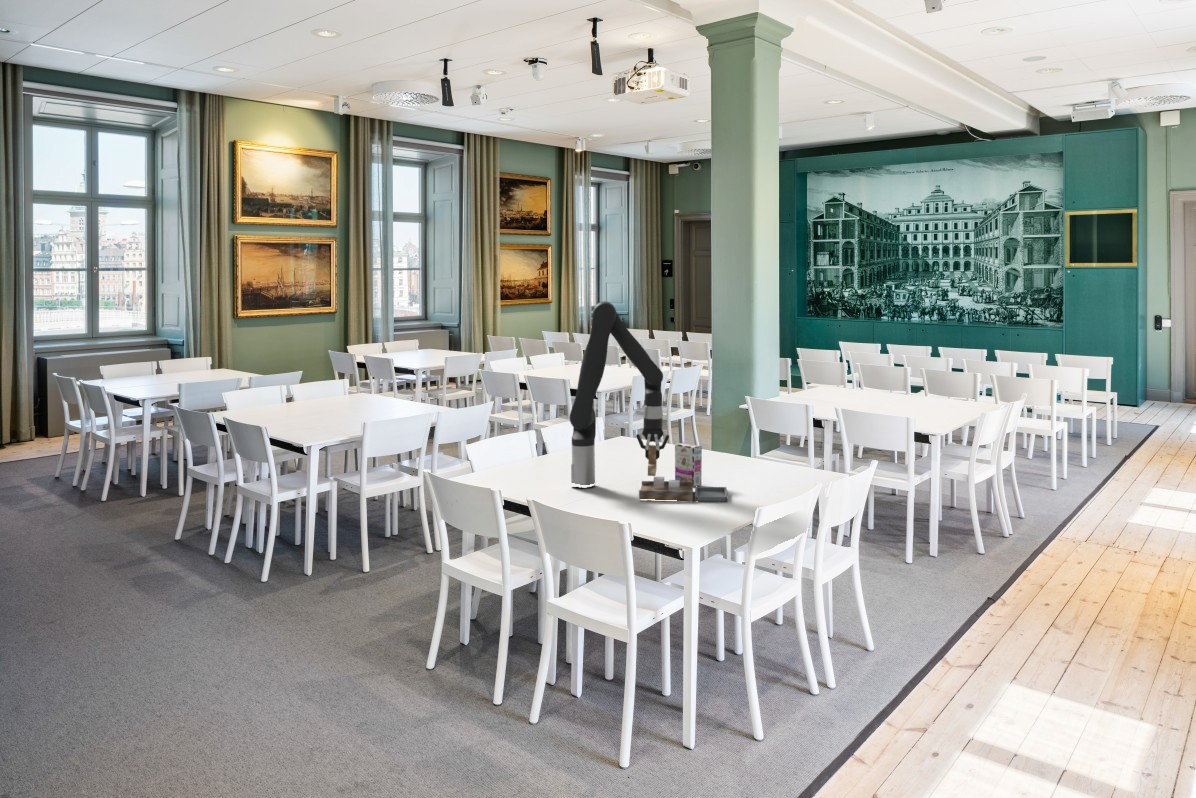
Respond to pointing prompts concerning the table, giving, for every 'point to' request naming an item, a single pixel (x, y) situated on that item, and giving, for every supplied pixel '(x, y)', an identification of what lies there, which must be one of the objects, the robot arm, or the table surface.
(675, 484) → the gray cube
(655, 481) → the grey cube
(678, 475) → the candy bar box
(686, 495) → the slot board
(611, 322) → the robot arm
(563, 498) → the table surface
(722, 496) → the tray
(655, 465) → the tan stepped block
